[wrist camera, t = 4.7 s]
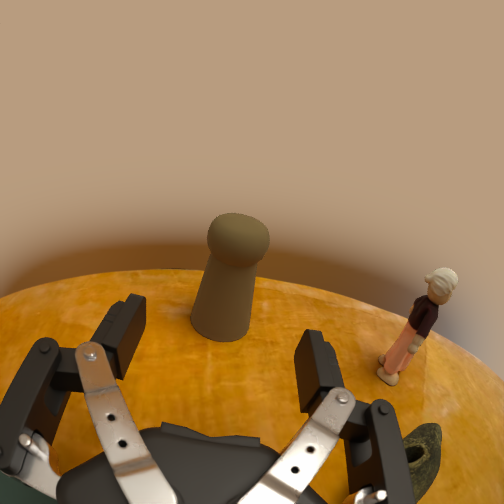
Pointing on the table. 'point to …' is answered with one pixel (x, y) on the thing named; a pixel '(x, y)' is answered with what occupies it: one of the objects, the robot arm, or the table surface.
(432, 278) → the grandmother figurine
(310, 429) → the robot arm
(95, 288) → the table surface
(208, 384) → the table surface
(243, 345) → the table surface
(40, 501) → the mat
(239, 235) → the cork
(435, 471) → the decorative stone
